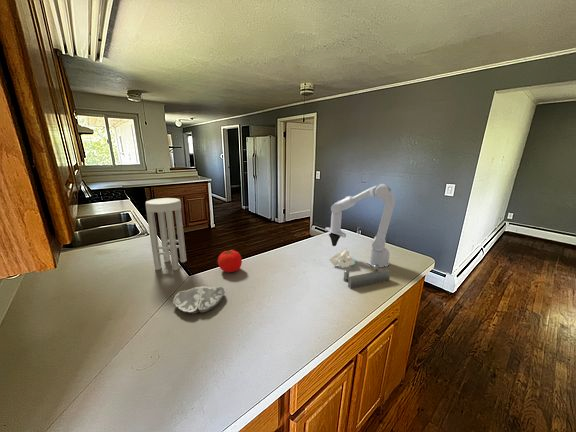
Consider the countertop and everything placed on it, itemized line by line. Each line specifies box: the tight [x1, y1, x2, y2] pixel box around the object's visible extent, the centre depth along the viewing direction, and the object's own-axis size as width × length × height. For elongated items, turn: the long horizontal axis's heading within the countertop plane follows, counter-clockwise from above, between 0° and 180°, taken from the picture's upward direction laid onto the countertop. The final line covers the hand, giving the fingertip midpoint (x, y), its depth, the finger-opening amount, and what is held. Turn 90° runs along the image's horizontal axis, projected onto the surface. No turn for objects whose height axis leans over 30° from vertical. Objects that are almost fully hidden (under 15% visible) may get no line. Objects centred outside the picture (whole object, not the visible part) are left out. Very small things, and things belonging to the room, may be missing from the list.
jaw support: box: [328, 248, 357, 269], centre depth 130 cm, size 12×9×10 cm
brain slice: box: [172, 285, 226, 314], centre depth 96 cm, size 20×17×3 cm
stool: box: [145, 197, 187, 271], centre depth 123 cm, size 16×16×35 cm
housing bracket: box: [343, 264, 391, 290], centre depth 115 cm, size 22×8×5 cm, turn 110°
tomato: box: [217, 248, 243, 273], centre depth 121 cm, size 12×12×11 cm
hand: (334, 245), depth 140 cm, fingers closed
